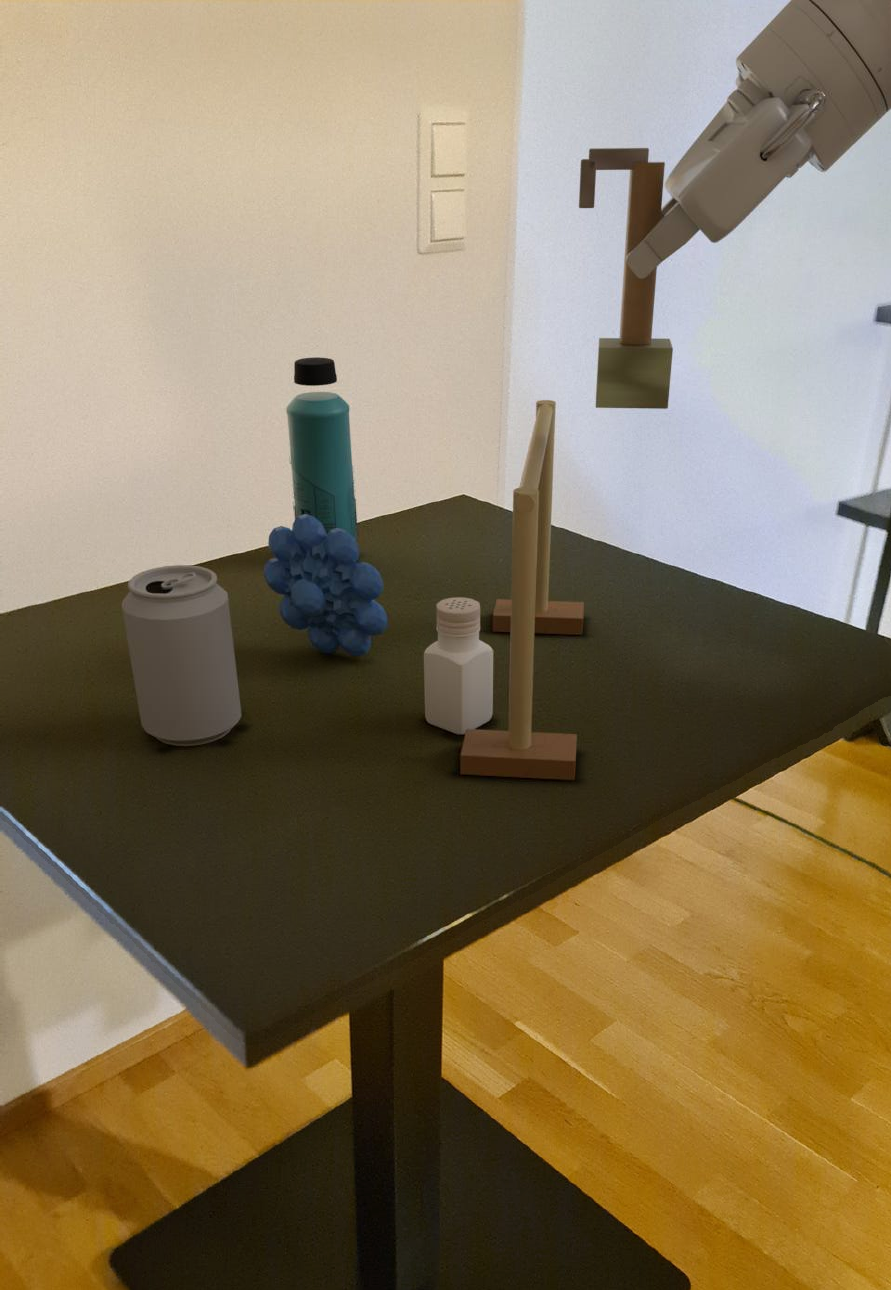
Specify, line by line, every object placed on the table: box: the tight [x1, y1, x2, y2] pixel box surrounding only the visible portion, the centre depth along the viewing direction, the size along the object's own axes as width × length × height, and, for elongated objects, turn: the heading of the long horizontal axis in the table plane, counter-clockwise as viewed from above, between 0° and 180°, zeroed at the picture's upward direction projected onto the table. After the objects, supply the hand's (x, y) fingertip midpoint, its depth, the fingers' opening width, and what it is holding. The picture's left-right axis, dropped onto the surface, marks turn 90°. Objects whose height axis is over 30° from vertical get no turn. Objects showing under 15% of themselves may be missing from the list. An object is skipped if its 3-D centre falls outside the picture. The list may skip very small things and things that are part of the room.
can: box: [121, 564, 243, 747], centre depth 83 cm, size 8×8×12 cm
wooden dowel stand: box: [459, 399, 585, 781], centre depth 87 cm, size 8×30×20 cm, turn 173°
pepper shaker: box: [423, 596, 494, 735], centre depth 84 cm, size 4×4×10 cm
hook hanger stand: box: [578, 147, 674, 410], centre depth 77 cm, size 7×4×16 cm, turn 83°
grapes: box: [263, 514, 388, 657], centre depth 94 cm, size 12×7×12 cm, turn 64°
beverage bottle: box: [285, 356, 359, 542], centre depth 114 cm, size 6×7×20 cm
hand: (631, 267), depth 76 cm, fingers closed on hook hanger stand, 2 cm apart
